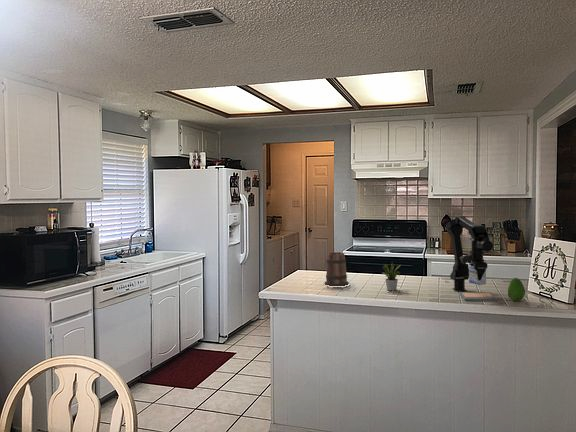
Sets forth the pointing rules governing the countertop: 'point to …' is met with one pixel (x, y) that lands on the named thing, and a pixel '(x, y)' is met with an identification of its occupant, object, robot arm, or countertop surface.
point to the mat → (477, 296)
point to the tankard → (336, 269)
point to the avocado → (516, 290)
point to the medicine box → (474, 278)
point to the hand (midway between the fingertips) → (477, 278)
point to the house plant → (391, 277)
